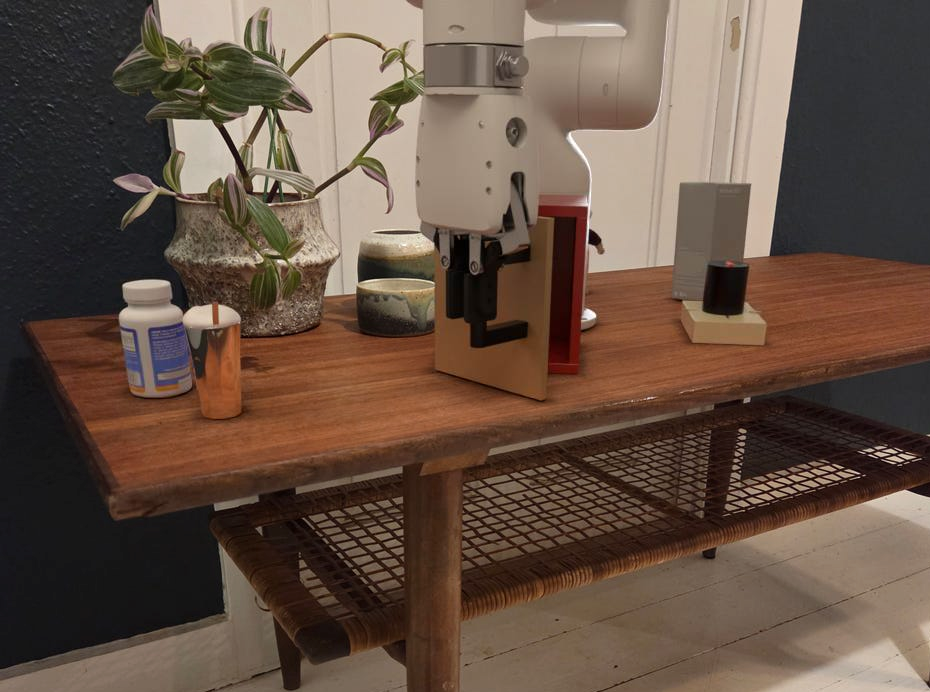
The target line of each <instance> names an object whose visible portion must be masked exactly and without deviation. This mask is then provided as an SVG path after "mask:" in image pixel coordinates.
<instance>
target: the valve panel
mask: <svg viewBox="0 0 930 692" xmlns="http://www.w3.org/2000/svg"><path fill="white" fill-rule="evenodd" d="M702 302H703V301H688V300H682V301H681V309H680V322H681V325H682V326H683V328H684V330H685V332H686V333H687V336H688V338H689V340H690V341H691V343H692V344H714V345H741V346H765V342H766V334H767V328H768V323H767V322H766V320H764V319H763V317H761V315H760V314H762V311H761V310H755V309H754V307H752V306H751V305H750V304H749V303H748V302H745V303H744V311H743V313H742V314H738V315H717V314H711V313H707V312H704V311H702Z"/></svg>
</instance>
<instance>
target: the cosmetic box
mask: <svg viewBox="0 0 930 692" xmlns="http://www.w3.org/2000/svg"><path fill="white" fill-rule="evenodd" d="M678 185H679V188H678V201H677V215H676V229H675V242H674V243H675V244H674V256H673V257H674V258H673V267H672V280H671V281H672V283H671V293H670V294H671V296H670V297H671V298H672V299H675V300H682V301H703V293H704V284H705V275H706V266H707V262H710V261H737V262H743V263H744V257H745V249H746V248H745V247H746V241H747V239H746V237H747V228H748V219H749V210H750V201H751V190H752V183H750V182H725V181H723V182H720V181H683V182H682V181H681V182H680V183H679V184H678Z"/></svg>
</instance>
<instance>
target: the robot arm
mask: <svg viewBox="0 0 930 692" xmlns="http://www.w3.org/2000/svg"><path fill="white" fill-rule="evenodd" d="M405 1H406V2H407V3H408V4H409V5H411V6H412V7H414V8H417V9H420V10H422V57H423V58H422V60H423V61H422V65H423V68H422V69H423V94H422V96H421V102H420V109H419V115H418V126H417V136H416V147H415V148H416V149H415V150H416V151H415V186H414V187H415V205H416V212H417V216H418V218H419V220H420V221H421V222H420V226H419V232H420V234H421V235H423V237H424V238H426V239H427V240H429V241H430V242H431V243H433V245H434V244H435V246H436V248H437V250H438V251H439V253H440V264H441V266H442V268H443V269H448V270H446V317H447V318H449V319H458V318H464V321H465V322H466V323H468V324H475V323H480V322H486V321H491V320H495V319H496V317H497V288H498V272H500V271H502V270H503V268H504V262H505V261H506V260H507V259H508V257H509V256H510V255H511V254H512V253H516V252H518V251H521V250H524V249H526V248H528V247H529V244H530V240H529V235H528V231H529V230H531V229H533V228H534V227H535V226H536V223H537V218H538V194H546V195H586V199H587V204H588V214H587V231H586V249H585V266H584V283H583V301H582V318H581V331H583V330H588V329H590V328H592V327H594V326H595V325H596V323H597V313H595V312H594V311H593V310H591V309H589V308H585V302H586V301H585V299H586V298H585V295H586V294H585V287H586V286H585V284H586V267H587V249H588V248H589V244H588V232H589V229H590V219H589V215H590V208H591V197H592V181H593V180H592V170H591V166H590V164H589V162H588V159H587V158H586V156H585V154H584V153H583V152H582V150H581V149H580V147H579V146H578V144H577V143H576V142H575V140H574V139H573V138H572V135H571V134H572V133H574V132H583V131H588V132H589V131H591V132H596V131H597V132H634V131H635V132H636V131H641V130H644V129H646V128H648V127H650V126H651V125H652V124H653V122H654V121H655V120H656V117H657V115H658V113H659V109H660V104H661V101H662V93H663V86H664V85H663V83H664V75H665V63H666V62H665V61H666V50H667V37H668V25H669V15H670V14H669V13H670V2H671V1H670V0H405ZM526 12H527V14H528V16H530V18H531V19H532V20H534V21H535V22H537V23H540V24H544V25H549V26H550V25H551V26H562V27H563V26H564V27H565V26H566V27H567V26H570V27H571V26H573V27H574V26H575V27H579V26H581V27H584V26H585V27H587V26H588V27H589V26H596V27H597V26H613V27H614V26H617V27H619V28H621V29H622V30H623V31H624V33H625V36H587V35H577V36H576V35H562V36H561V35H557V36H555V35H554V36H553V35H552V36H551V35H550V36H539V37H534V38H530V39H525V37H526ZM458 236H460V240H459V238H458ZM486 241H490V243H489V244H488V245H487V247H486V248H485V242H486Z"/></svg>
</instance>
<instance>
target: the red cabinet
mask: <svg viewBox="0 0 930 692" xmlns="http://www.w3.org/2000/svg"><path fill="white" fill-rule="evenodd" d="M587 214H588V204H587V199H586V195H546V194H538V216H541V217H550V218H554V233H553V256H552V279H551V302H550V324H549V347H548V370H547V374H566V375H578V374H579V370H580V369H579V367H580V351H581V333H582V332H581V331H582V330H581V318H582V301H583V283H584V266H585V249H586V231H587Z"/></svg>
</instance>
